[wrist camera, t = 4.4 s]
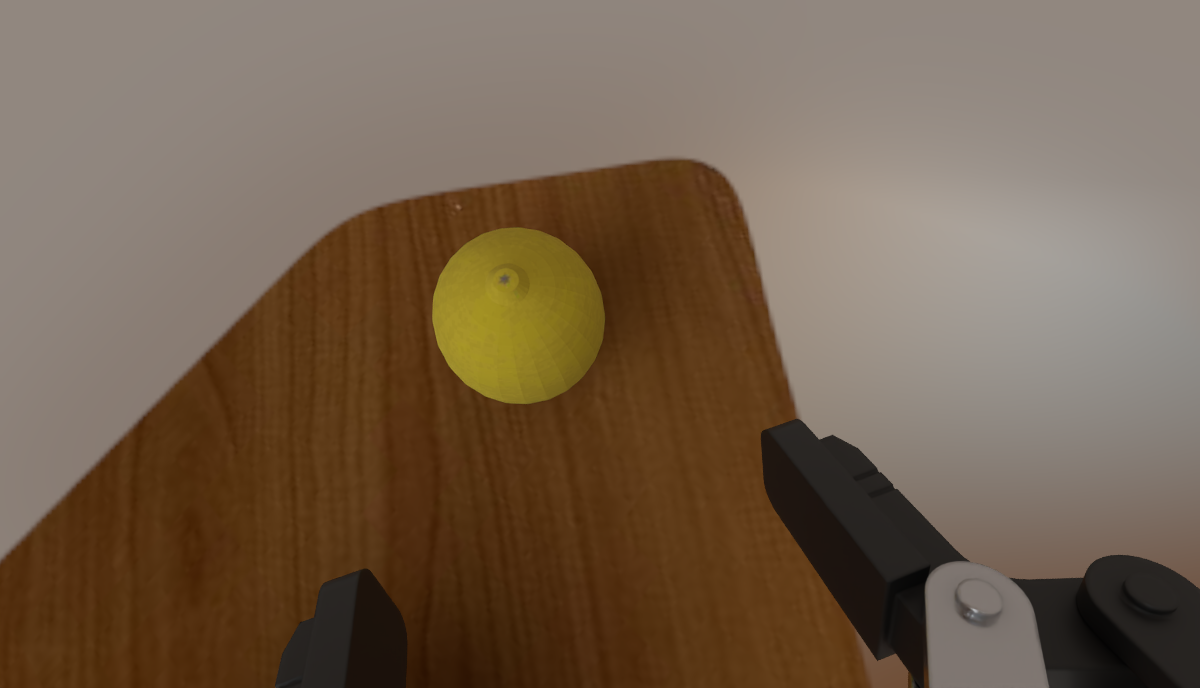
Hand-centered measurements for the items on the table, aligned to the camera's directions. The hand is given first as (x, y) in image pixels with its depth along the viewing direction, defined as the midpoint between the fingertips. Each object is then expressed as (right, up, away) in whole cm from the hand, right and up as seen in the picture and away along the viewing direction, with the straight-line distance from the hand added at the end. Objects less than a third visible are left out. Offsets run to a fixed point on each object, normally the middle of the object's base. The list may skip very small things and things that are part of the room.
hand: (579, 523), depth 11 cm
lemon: (-2, +3, +12) cm, 12 cm away
